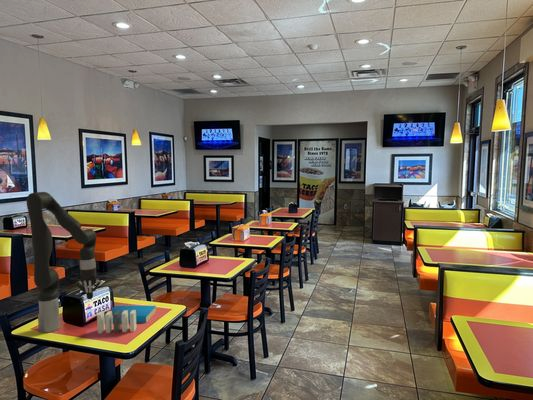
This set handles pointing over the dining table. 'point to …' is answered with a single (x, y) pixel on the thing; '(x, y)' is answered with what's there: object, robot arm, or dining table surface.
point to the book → (141, 312)
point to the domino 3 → (117, 321)
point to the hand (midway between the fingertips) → (89, 298)
